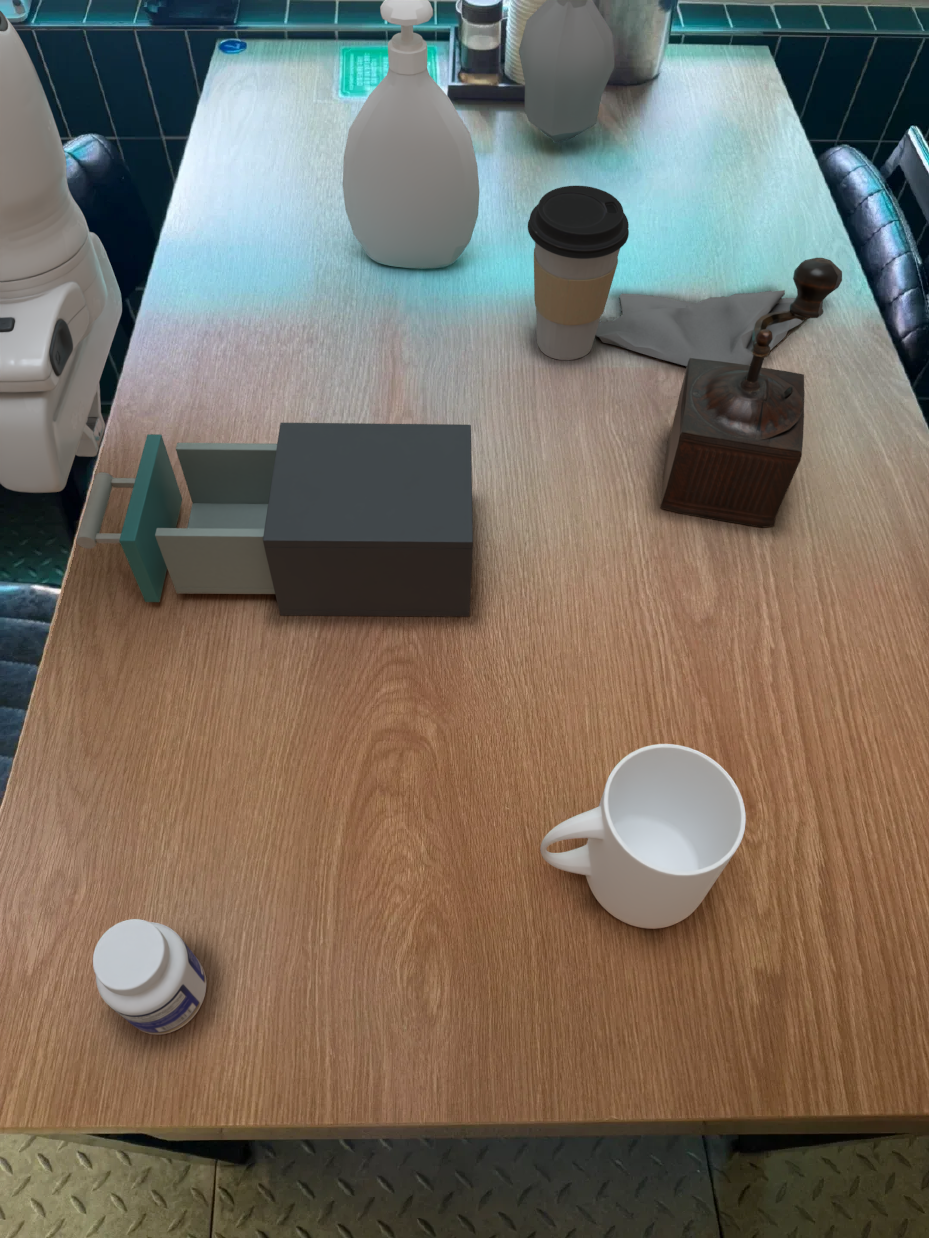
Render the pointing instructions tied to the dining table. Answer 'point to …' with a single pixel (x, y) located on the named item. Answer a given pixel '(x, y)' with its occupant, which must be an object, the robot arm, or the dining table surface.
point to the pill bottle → (149, 976)
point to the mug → (655, 835)
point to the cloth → (695, 326)
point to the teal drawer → (192, 518)
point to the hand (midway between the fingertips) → (90, 442)
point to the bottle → (565, 66)
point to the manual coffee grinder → (743, 422)
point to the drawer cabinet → (371, 520)
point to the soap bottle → (410, 159)
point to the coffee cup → (574, 265)
